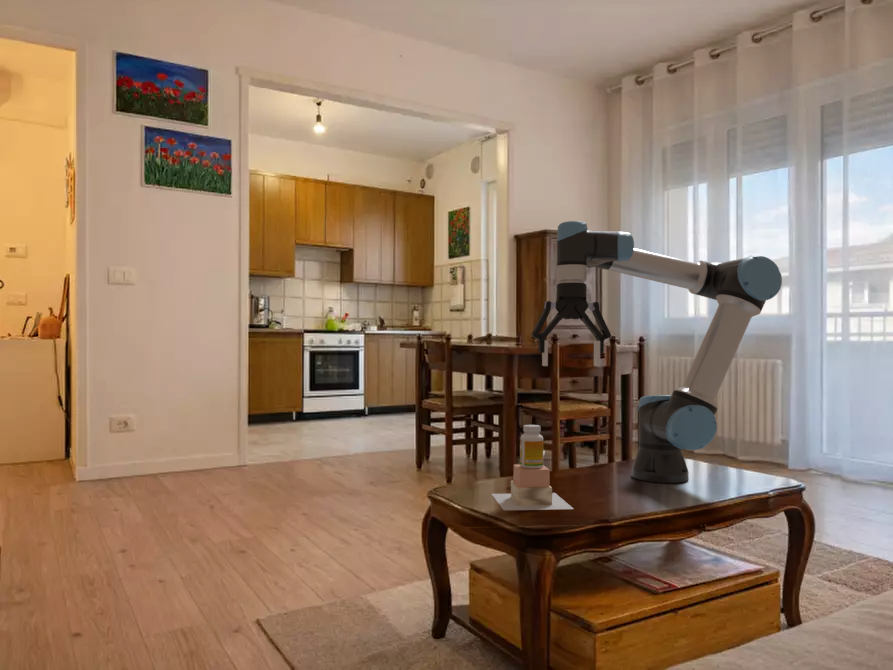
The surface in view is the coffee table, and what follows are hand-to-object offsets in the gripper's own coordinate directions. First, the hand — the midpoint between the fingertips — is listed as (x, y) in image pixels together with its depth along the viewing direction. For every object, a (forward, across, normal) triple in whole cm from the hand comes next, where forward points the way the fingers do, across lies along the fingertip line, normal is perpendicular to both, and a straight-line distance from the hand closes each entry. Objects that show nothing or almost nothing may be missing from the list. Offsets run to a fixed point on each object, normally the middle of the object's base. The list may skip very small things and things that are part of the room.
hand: (571, 366), depth 171 cm
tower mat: (+32, +13, +12) cm, 36 cm away
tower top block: (+27, +13, +12) cm, 33 cm away
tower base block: (+31, +13, +12) cm, 36 cm away
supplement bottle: (+24, +13, +12) cm, 29 cm away
